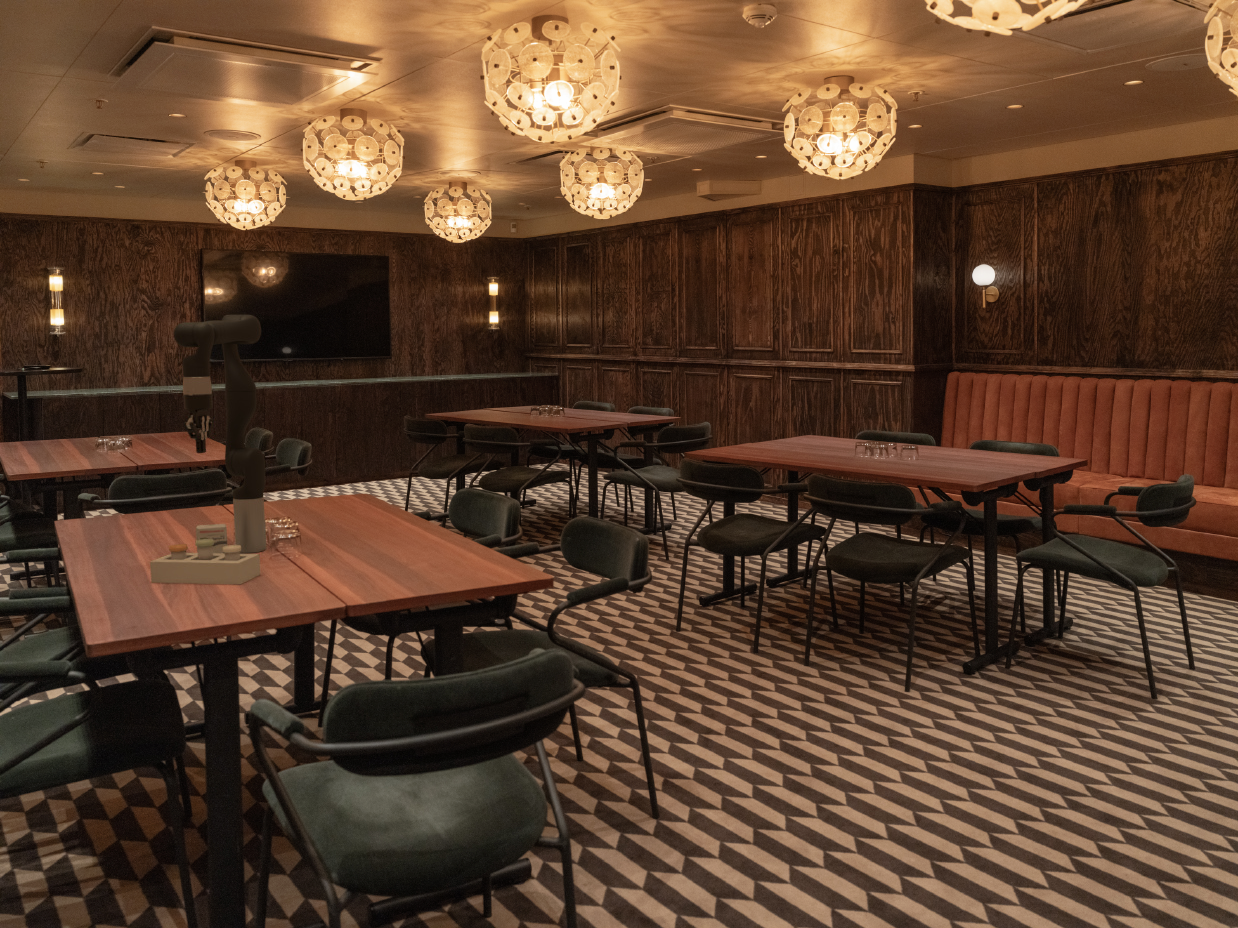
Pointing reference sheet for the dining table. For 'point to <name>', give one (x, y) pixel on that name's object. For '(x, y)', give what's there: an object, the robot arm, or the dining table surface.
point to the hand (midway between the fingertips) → (201, 452)
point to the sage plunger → (205, 549)
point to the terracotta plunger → (178, 551)
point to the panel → (205, 569)
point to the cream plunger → (232, 552)
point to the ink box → (213, 535)
